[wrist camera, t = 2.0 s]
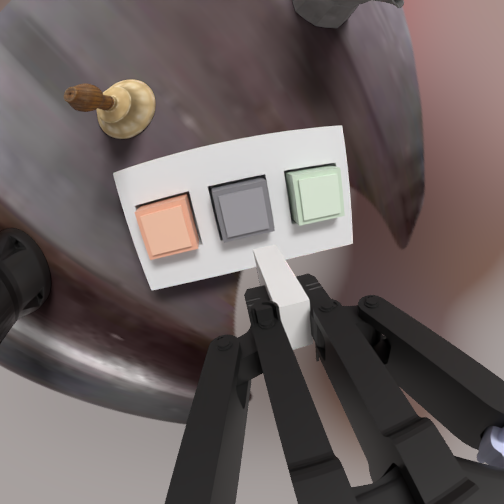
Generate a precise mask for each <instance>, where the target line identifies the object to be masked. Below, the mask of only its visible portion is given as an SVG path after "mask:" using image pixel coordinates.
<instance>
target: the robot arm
mask: <svg viewBox="0 0 504 504" xmlns="http://www.w3.org/2000/svg"><path fill="white" fill-rule="evenodd" d="M253 253H254V258H255V263H256V267H257V273H258V277H259V283H260V286H259V287H255V288H251V289H247V291H246V293H245V295H244V296H245V300H246V304H247V309H248V313H249V318H250V322H251V327H250V329H249V330H248V332H247V333H245V334H244V335H242V336H240V337H238V338H237V337H235V336H233V335H222V336H219V337H217V338H215V339H214V340H213V341H212V342H211V344H210V345H209V348H208V352H207V355H206V359H205V362H204V365H203V369H202V372H201V376H200V379H199V382H198V386H197V389H196V393H195V396H194V400H193V403H192V407H191V410H190V414H189V417H188V421H187V424H186V428H185V432H184V435H183V439H182V442H181V446H180V449H179V453H178V456H177V460H176V464H175V467H174V471H173V475H172V478H171V482H170V486H169V489H168V493H167V497H166V501H165V504H235V502H236V495H237V487H238V480H239V473H240V466H241V458H242V450H243V443H244V435H245V426H246V419H247V411H248V403H249V395H250V387H251V379H253V378H255V377H257V376H258V375H260V374H262V373H263V374H264V378H265V382H266V386H267V390H268V394H269V397H270V402H271V405H272V409H273V413H274V417H275V421H276V424H277V428H278V432H279V436H280V440H281V443H282V447H283V451H284V454H285V458H286V462H287V465H288V469H289V473H290V477H291V480H292V483H293V487H294V491H295V494H296V498H297V501H298V504H504V381H503V380H502V379H501V378H499V377H498V376H496V375H495V374H494V373H492V372H491V371H489V370H488V369H487V368H485V367H484V366H483V365H481V364H480V363H478V362H477V361H475V360H474V359H473V358H471V357H470V356H468V355H467V354H465V353H464V352H462V351H461V350H460V349H458V348H457V347H455V346H454V345H452V344H451V343H450V342H448V341H447V340H445V339H444V338H442V337H441V336H439V335H438V334H436V333H435V332H433V331H432V330H430V329H429V328H427V327H426V326H424V325H423V324H421V323H420V322H418V321H417V320H415V319H414V318H412V317H410V316H409V315H408V314H406V313H404V312H403V311H401V310H400V309H399V308H397V307H395V306H394V305H392V304H391V303H389V302H388V301H386V300H385V299H383V298H381V297H379V296H375V295H369V296H365V297H362V298H361V299H360V300H359V302H358V305H357V306H342V305H341V304H340V303H339V302H338V301H336V300H333V299H331V298H330V297H329V296H328V294H327V293H326V291H325V290H324V289H323V287H322V286H321V285H320V283H319V282H318V280H317V279H316V278H315V277H314V276H312V275H310V274H305V275H301V276H297V277H296V276H295V275H294V273H293V272H292V270H291V268H290V267H289V265H288V263H287V262H286V260H285V258H284V257H283V255H282V254H281V252H280V250H279V249H278V247H277V245H276V244H275V245H270V246H266V247H262V248H257V249H253ZM50 288H51V277H50V271H49V267H48V264H47V262H46V259H45V257H44V255H43V253H42V251H41V250H40V248H39V247H38V245H37V244H36V243H35V241H34V240H33V239H32V238H31V237H30V236H29V235H27V234H26V233H25V232H23V231H21V230H19V229H15V228H7V229H5V230H3V231H1V232H0V343H1V342H2V341H3V339H4V338H5V336H6V335H7V333H8V332H9V330H10V329H11V328H12V326H13V325H14V324H15V322H16V321H17V320H18V319H19V318H21V317H23V316H25V315H27V314H29V313H31V312H33V311H35V310H37V309H38V308H40V307H41V305H42V304H43V303H44V302H45V300H46V299H47V298H48V296H49V293H50ZM382 334H383V335H384V336H383V335H382ZM312 337H313V339H314V341H315V344H316V360H317V361H319V358H320V360H321V362H322V364H323V366H324V368H325V370H326V373H327V375H328V377H329V379H330V381H331V383H332V385H333V387H334V389H335V392H336V394H337V396H338V398H339V400H340V402H341V404H342V406H343V409H344V411H345V413H346V415H347V417H348V419H349V421H350V423H351V425H352V428H353V430H354V432H355V434H356V437H357V439H358V441H359V443H360V445H361V447H362V450H363V452H364V454H365V456H366V458H367V461H368V464H369V471H370V476H371V479H372V481H373V484H368V485H363V486H358V487H351V486H350V483H349V481H348V478H347V476H346V474H345V471H344V468H343V466H342V464H341V462H340V460H339V459H338V458H337V457H336V456H335V455H334V453H333V450H332V448H331V445H330V443H329V441H328V438H327V435H326V433H325V430H324V428H323V425H322V423H321V420H320V417H319V415H318V413H317V410H316V408H315V405H314V402H313V400H312V398H311V395H310V392H309V390H308V387H307V385H306V382H305V380H304V377H303V375H302V372H301V369H300V367H299V364H298V362H297V360H296V357H295V354H294V352H293V350H294V349H297V348H301V347H304V346H308V345H311V344H313V339H312ZM399 387H401V388H402V389H403V390H404V391H405V392H406V393H407V394H408V395H409V396H411V397H412V398H413V399H414V400H415V401H416V402H418V404H420V405H421V406H422V407H423V408H424V409H425V410H427V411H428V412H429V413H430V414H431V415H432V416H433V417H434V418H435V419H437V420H438V421H439V422H440V423H441V424H442V425H443V426H444V427H446V428H447V429H448V430H449V431H450V432H451V433H452V434H453V435H455V436H456V437H457V438H458V439H460V440H461V441H462V442H464V443H465V444H467V445H469V446H471V447H472V448H475V449H477V450H479V452H478V454H477V460H478V461H479V462H480V463H479V462H474V461H471V460H467V459H463V458H460V457H456V456H454V455H453V453H452V452H451V450H450V449H449V447H448V445H447V444H446V443H445V440H444V439H443V437H442V436H441V434H440V433H439V431H438V429H437V428H436V426H435V425H434V423H433V422H432V421H431V420H430V419H428V418H425V417H424V418H421V417H419V416H418V415H417V414H416V412H415V411H414V409H413V408H412V406H411V405H410V403H409V402H408V400H407V398H406V397H405V395H404V394H403V392H402V391H401V389H400V388H399ZM484 462H486V463H487V464H488V465H487V464H482V463H484Z"/></svg>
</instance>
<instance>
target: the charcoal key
mask: <svg viewBox="0 0 504 504" xmlns="http://www.w3.org/2000/svg"><path fill="white" fill-rule="evenodd" d="M212 195H213V200H214V204H215V208H216V212H217V217H218V221H219V225H220V229H221V234H222V238H223V242H224V243H225V242H229V241H233V240H238V239H242V238H246V237H251V236H255V235H260V234H264V233H269V232H273V231H275V230H274V224H273V218H272V212H271V206H270V200H269V195H268V189H267V183H266V180H265V179H263V178H262V177H259V178H254V179H249V180H244V181H239V182H235V183H230V184H225V185H221V186H217V187H212Z"/></svg>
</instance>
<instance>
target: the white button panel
mask: <svg viewBox="0 0 504 504" xmlns="http://www.w3.org/2000/svg"><path fill="white" fill-rule="evenodd" d="M328 165H331V166H335V167H339V168H340V170H341V179H342V189H343V201H344V214H345V216H342V217H337V218H333V219H328V220H323V221H319V222H314V223H309V224H305V225H300V226H299V225H298V224H297V223H296V222H295V221H294V220H293V219H292V214H291V207H290V200H289V194H288V187H287V181H286V175H285V172H291V171H297V170H303V169H309V168H315V167H322V166H328ZM113 175H114V179H115V183H116V187H117V190H118V194H119V197H120V201H121V204H122V208H123V211H124V214H125V217H126V221H127V224H128V227H129V230H130V233H131V236H132V239H133V242H134V245H135V248H136V250H137V253H138V256H139V259H140V262H141V264H142V267H143V270H144V272H145V275H146V278H147V280H148V283H149V285H150V288H151V290H157V289H161V288H166V287H170V286H175V285H179V284H184V283H188V282H193V281H197V280H202V279H206V278H211V277H215V276H219V275H224V274H228V273H233V272H237V271H241V270H245V269H250V268H254V267H256V263H255V258H254V253H253V249H257V248H262V247H266V246H270V245H275V244H276V245H277V247H278V249H279V250H280V252H281V254H282V255H283V257H284V258H285V260H287V259H292V258H296V257H300V256H304V255H308V254H312V253H317V252H321V251H324V250H329V249H333V248H337V247H341V246H345V245H349V244H352V243H353V234H352V214H351V200H350V188H349V177H348V167H347V158H346V150H345V143H344V135H343V129H342V126H327V127H317V128H307V129H299V130H291V131H284V132H277V133H271V134H264V135H258V136H253V137H247V138H242V139H236V140H231V141H226V142H222V143H217V144H213V145H208V146H204V147H200V148H195V149H191V150H187V151H183V152H180V153H176V154H172V155H168V156H165V157H161V158H158V159H154V160H151V161H148V162H144V163H141V164H138V165H135V166H132V167H129V168H126V169H123V170H120V171H117V172H114V173H113ZM259 177H262V178H263V179H265V180H266V183H267V189H268V195H269V200H270V206H271V212H272V218H273V224H274V230H275V231H273V232H269V233H264V234H260V235H255V236H251V237H246V238H242V239H238V240H233V241H229V242H225V243H224V242H223V238H222V234H221V229H220V225H219V221H218V217H217V212H216V208H215V204H214V200H213V195H212V187H217V186H221V185H225V184H230V183H235V182H239V181H244V180H249V179H254V178H259ZM184 194H187V195H188V199H189V203H190V207H191V211H192V215H193V218H194V222H195V226H196V230H197V234H198V237H199V246H198V249H195V250H191V251H186V252H182V253H178V254H174V255H170V256H165V257H161V258H157V259H153V260H150V259H149V256H148V253H147V250H146V247H145V244H144V241H143V238H142V235H141V232H140V229H139V226H138V222H137V219H136V216H135V213H134V212H135V211H136V210H137V209H138V208H139V207H140V206H143V205H146V204H150V203H154V202H157V201H161V200H164V199H168V198H172V197H176V196H180V195H184Z"/></svg>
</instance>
